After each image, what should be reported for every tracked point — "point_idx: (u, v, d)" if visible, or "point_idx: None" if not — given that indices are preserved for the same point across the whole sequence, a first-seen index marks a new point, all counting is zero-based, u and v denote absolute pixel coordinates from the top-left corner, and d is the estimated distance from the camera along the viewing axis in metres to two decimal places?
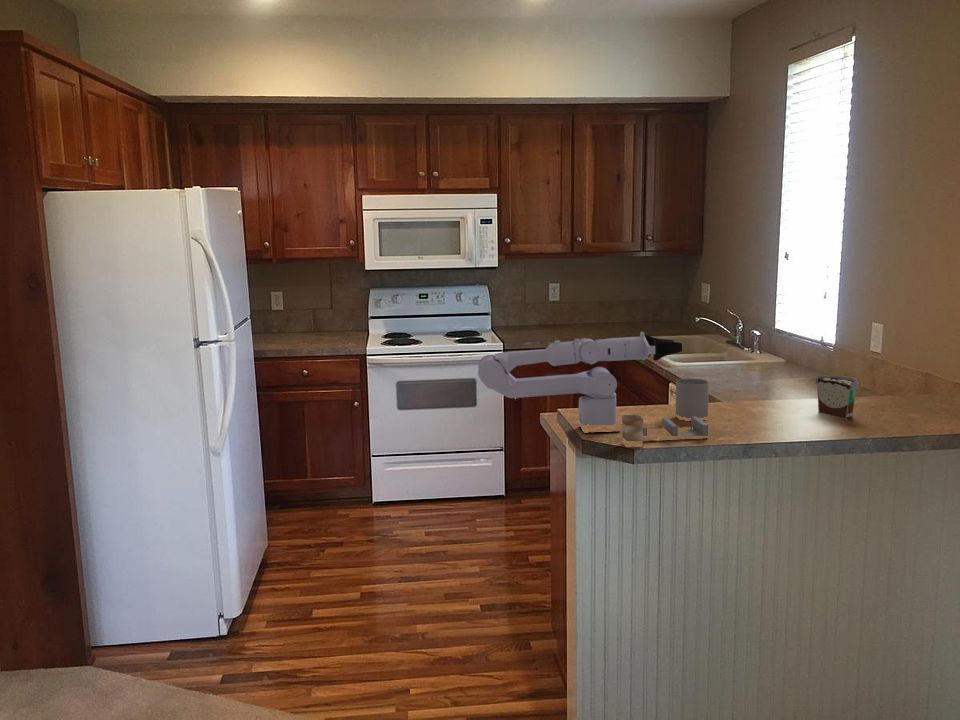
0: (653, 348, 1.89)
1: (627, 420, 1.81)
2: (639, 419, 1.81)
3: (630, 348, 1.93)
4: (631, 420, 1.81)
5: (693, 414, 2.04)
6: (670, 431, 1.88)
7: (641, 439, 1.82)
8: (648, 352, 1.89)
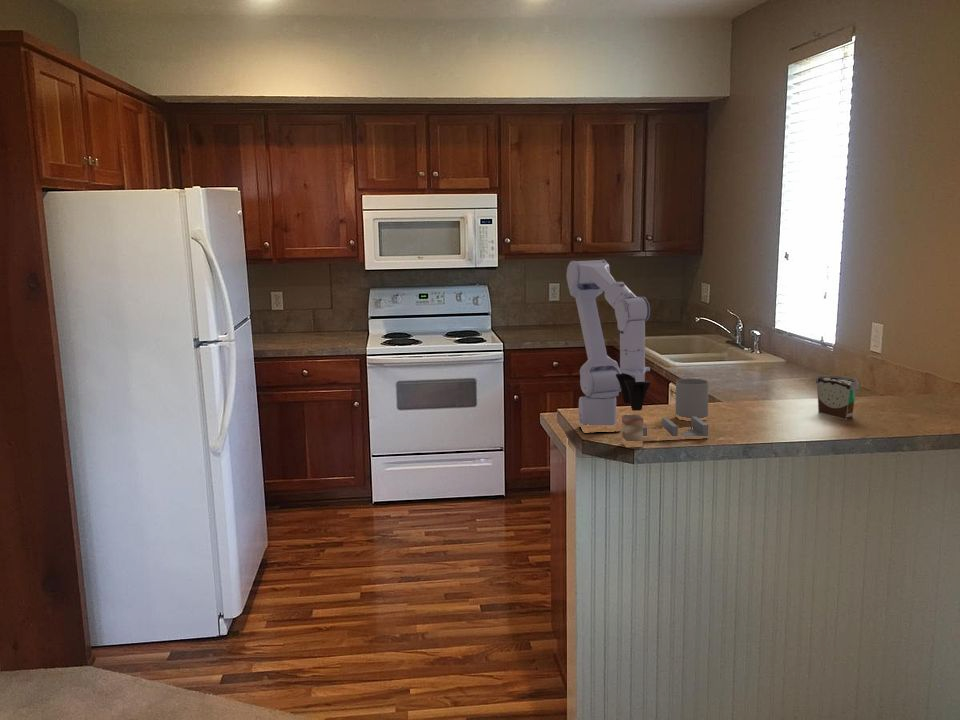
0: (642, 379, 1.74)
1: (627, 420, 1.81)
2: (639, 419, 1.81)
3: (636, 355, 1.78)
4: (631, 420, 1.81)
5: (693, 414, 2.04)
6: (670, 431, 1.88)
7: (641, 439, 1.82)
8: (638, 374, 1.74)
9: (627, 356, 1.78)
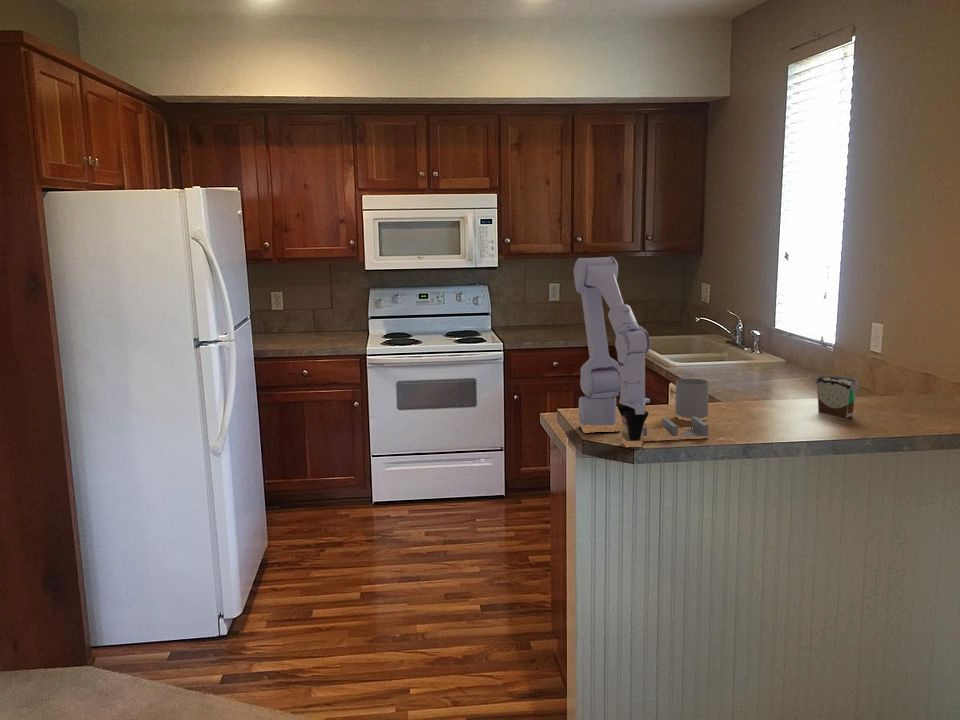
0: (642, 412, 1.75)
1: None
2: None
3: (636, 388, 1.79)
4: None
5: (693, 414, 2.04)
6: (670, 431, 1.88)
7: (641, 439, 1.82)
8: (638, 407, 1.75)
9: (627, 388, 1.79)
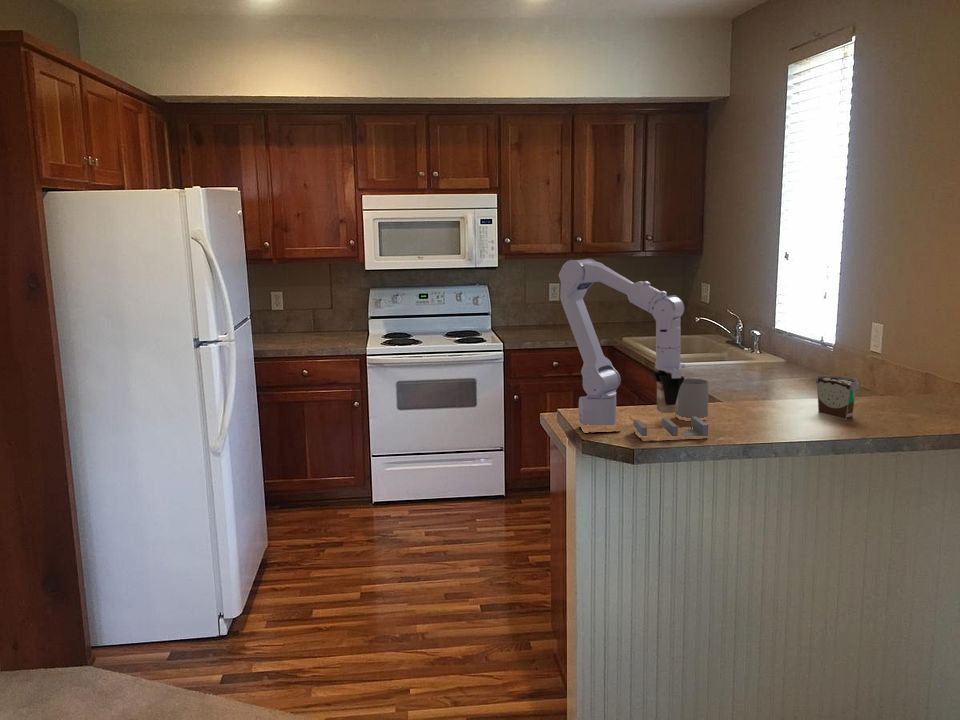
0: (678, 376, 1.79)
1: (662, 385, 1.84)
2: None
3: (672, 353, 1.83)
4: None
5: (693, 414, 2.04)
6: (670, 431, 1.88)
7: (676, 404, 1.85)
8: (674, 371, 1.79)
9: (663, 353, 1.83)
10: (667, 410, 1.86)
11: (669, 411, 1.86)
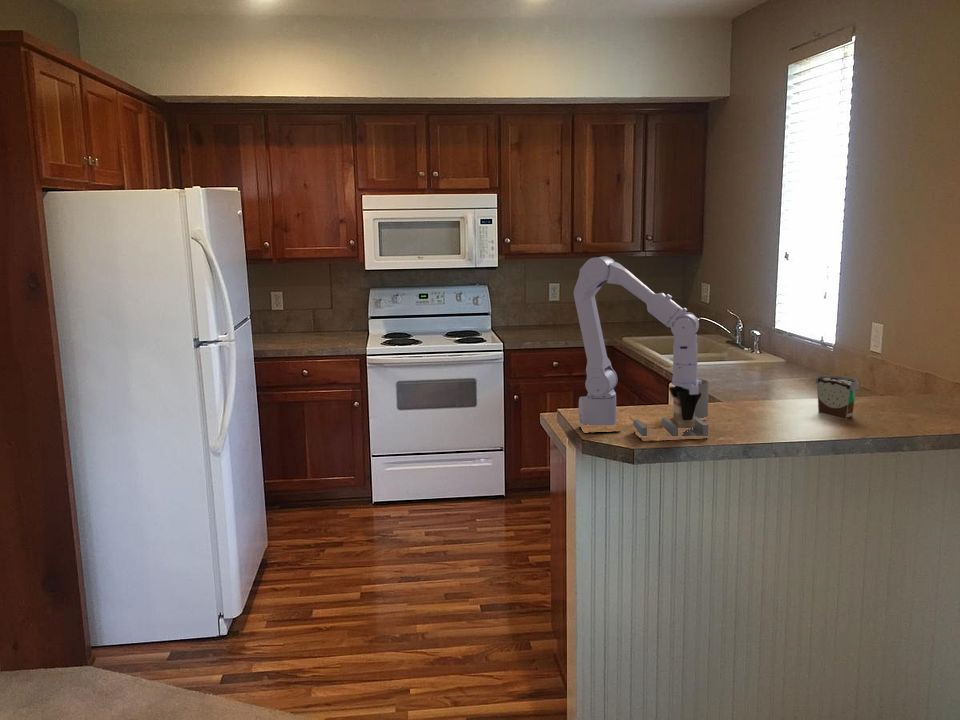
0: (696, 392, 1.82)
1: (679, 401, 1.88)
2: None
3: (690, 369, 1.86)
4: None
5: None
6: (670, 431, 1.88)
7: (693, 419, 1.89)
8: (692, 387, 1.82)
9: (681, 370, 1.86)
10: (683, 425, 1.89)
11: (686, 426, 1.89)
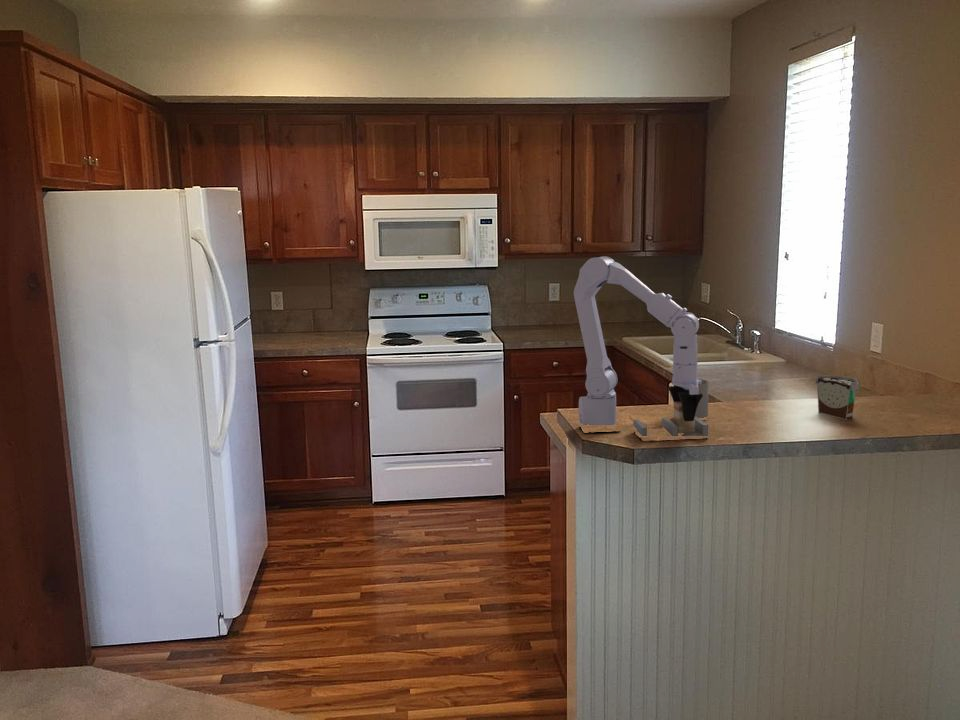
0: (696, 392, 1.82)
1: (680, 406, 1.88)
2: None
3: (690, 369, 1.86)
4: None
5: None
6: (670, 431, 1.88)
7: (693, 425, 1.89)
8: (692, 387, 1.82)
9: (681, 370, 1.86)
10: (684, 430, 1.89)
11: (686, 431, 1.89)
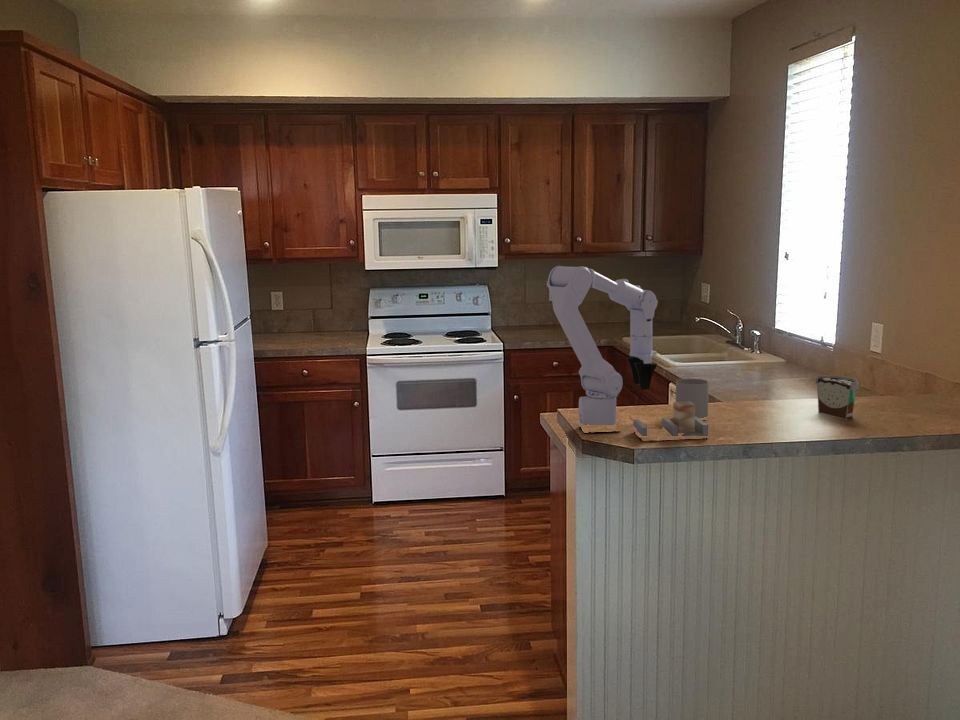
0: (649, 361, 1.97)
1: (680, 406, 1.88)
2: (691, 405, 1.88)
3: (645, 341, 2.01)
4: (683, 406, 1.88)
5: None
6: (670, 431, 1.88)
7: (693, 425, 1.89)
8: (646, 357, 1.97)
9: (636, 341, 2.01)
10: (683, 430, 1.89)
11: (686, 431, 1.89)
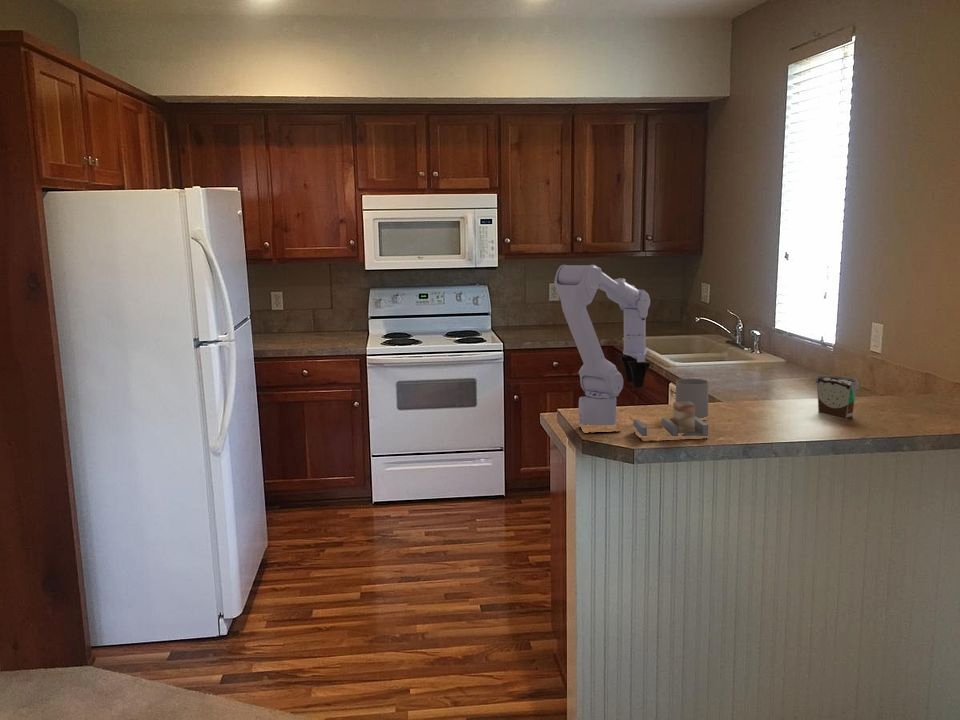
0: (643, 360, 2.00)
1: (680, 406, 1.88)
2: (691, 405, 1.88)
3: (638, 339, 2.04)
4: (683, 406, 1.88)
5: None
6: (670, 431, 1.88)
7: (693, 425, 1.89)
8: (639, 355, 2.00)
9: (630, 340, 2.04)
10: (683, 430, 1.89)
11: (686, 431, 1.89)
